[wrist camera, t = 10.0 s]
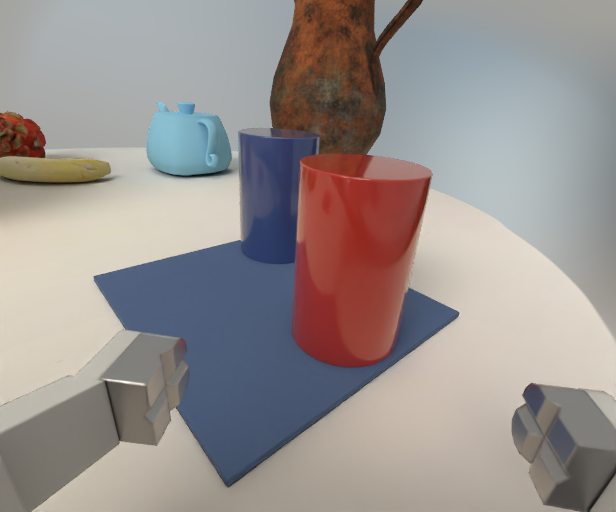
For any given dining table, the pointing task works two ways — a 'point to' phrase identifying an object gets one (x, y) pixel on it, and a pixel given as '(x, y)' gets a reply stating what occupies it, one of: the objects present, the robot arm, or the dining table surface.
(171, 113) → the teapot
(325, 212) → the red canister
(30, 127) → the dragon fruit
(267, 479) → the dining table surface
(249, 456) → the blue mat
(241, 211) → the blue canister
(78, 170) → the fruit
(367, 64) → the pitcher
